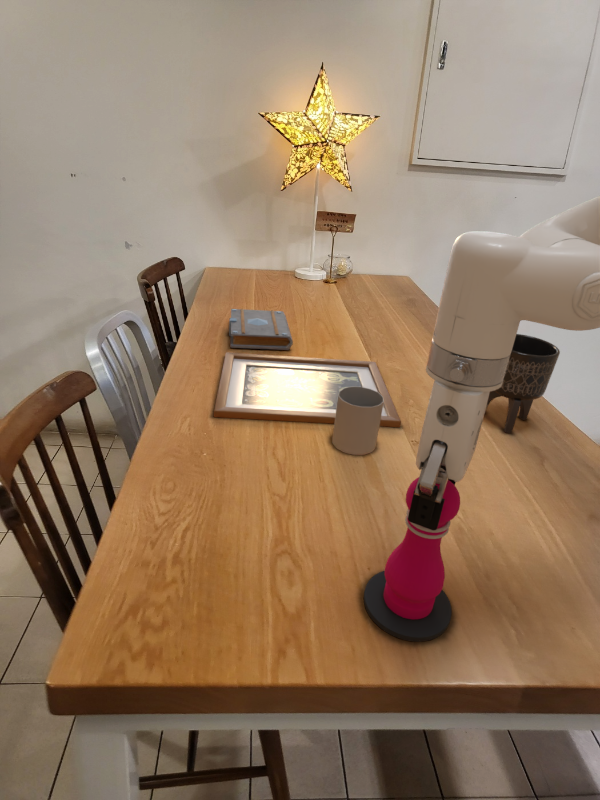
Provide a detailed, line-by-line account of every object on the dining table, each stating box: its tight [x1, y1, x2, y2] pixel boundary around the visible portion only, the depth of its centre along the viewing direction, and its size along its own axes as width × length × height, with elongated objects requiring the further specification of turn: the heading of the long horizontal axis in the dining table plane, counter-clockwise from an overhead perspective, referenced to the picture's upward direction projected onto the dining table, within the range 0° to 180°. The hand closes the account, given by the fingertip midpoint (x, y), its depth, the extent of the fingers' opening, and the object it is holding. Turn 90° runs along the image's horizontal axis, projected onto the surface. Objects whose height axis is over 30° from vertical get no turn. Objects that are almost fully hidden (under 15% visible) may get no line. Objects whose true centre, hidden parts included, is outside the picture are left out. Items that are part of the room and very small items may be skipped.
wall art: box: [213, 351, 402, 428], centre depth 122 cm, size 31×2×38 cm
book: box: [228, 308, 294, 351], centre depth 149 cm, size 21×16×5 cm
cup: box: [331, 387, 384, 456], centre depth 101 cm, size 8×8×10 cm
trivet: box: [363, 570, 453, 643], centre depth 68 cm, size 11×11×1 cm
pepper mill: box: [384, 468, 461, 620], centre depth 64 cm, size 7×7×20 cm
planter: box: [485, 333, 561, 434], centre depth 113 cm, size 13×13×18 cm
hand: (431, 505), depth 61 cm, fingers open, 7 cm apart
